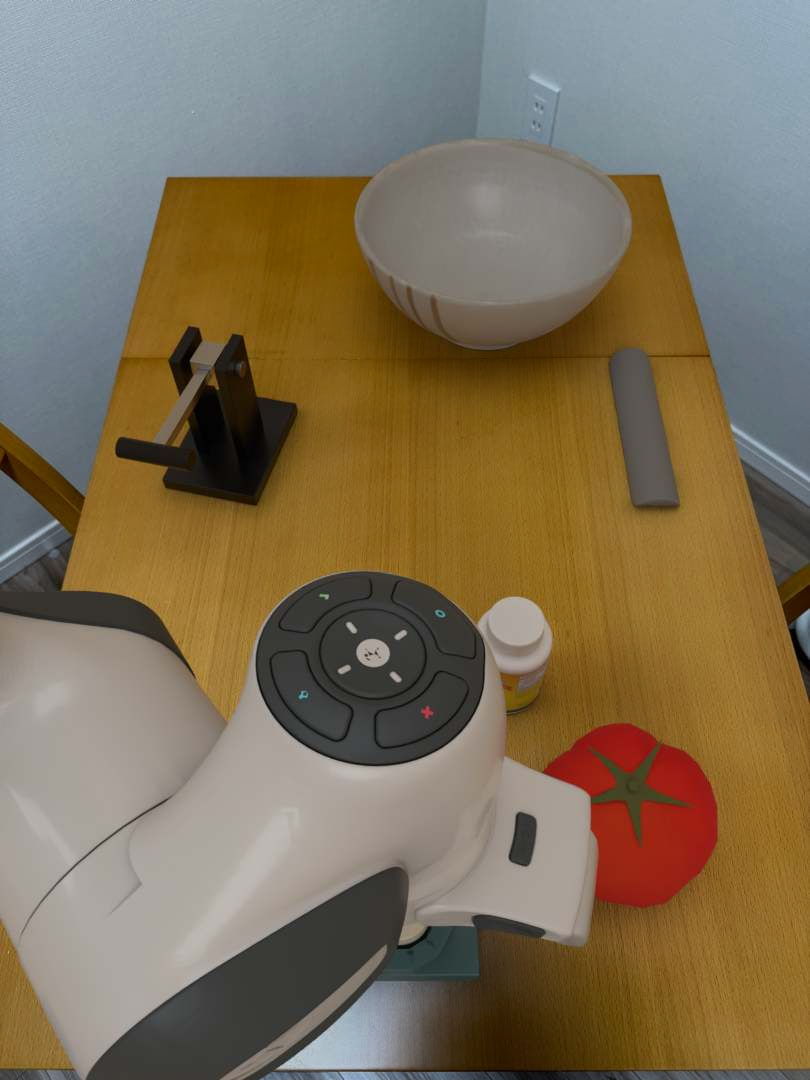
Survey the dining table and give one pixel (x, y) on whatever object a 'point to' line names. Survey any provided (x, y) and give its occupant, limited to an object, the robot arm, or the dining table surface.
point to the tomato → (641, 812)
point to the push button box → (437, 956)
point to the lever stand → (228, 427)
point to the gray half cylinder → (642, 430)
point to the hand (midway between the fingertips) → (402, 886)
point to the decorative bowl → (492, 238)
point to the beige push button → (411, 933)
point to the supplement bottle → (518, 648)
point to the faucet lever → (176, 417)
